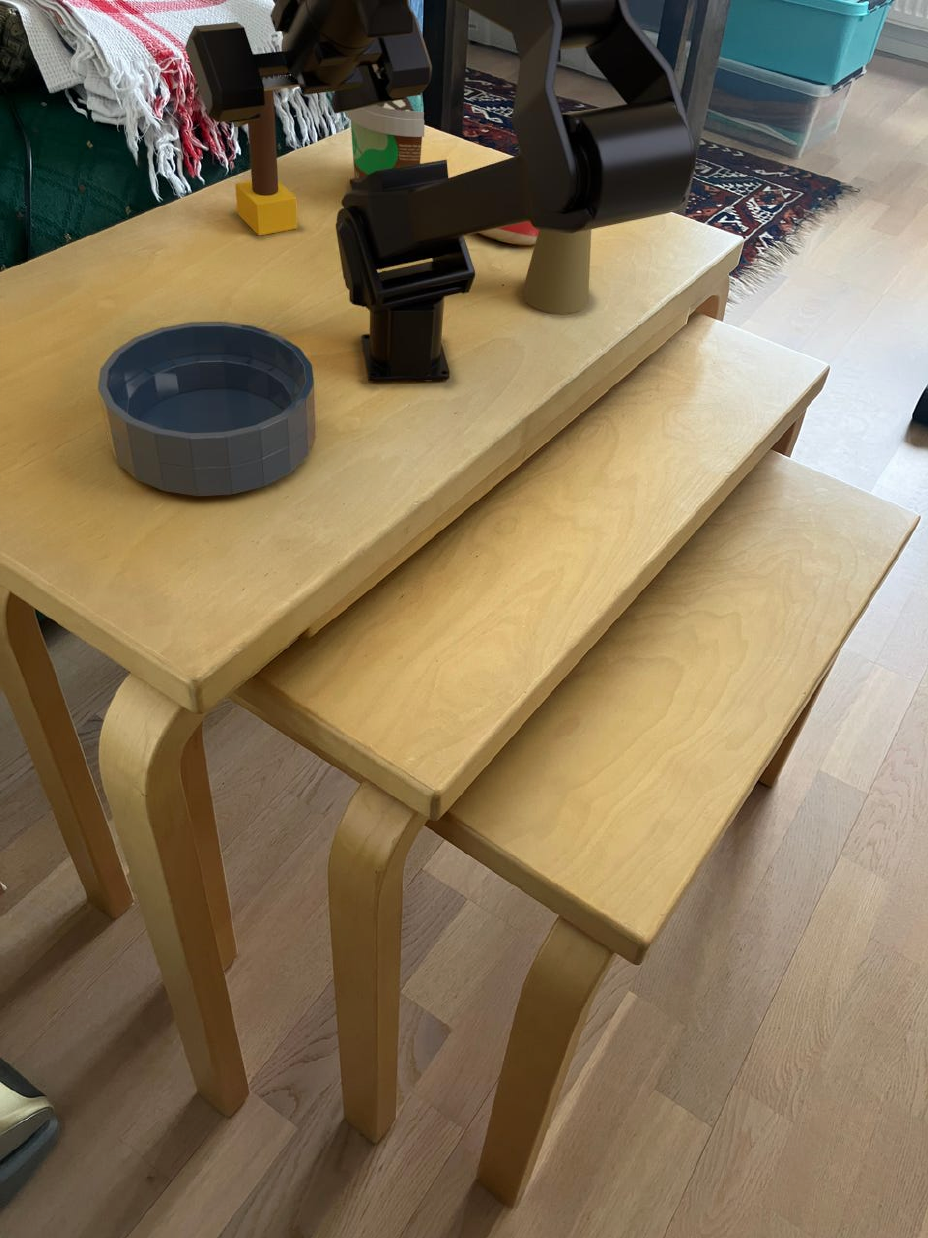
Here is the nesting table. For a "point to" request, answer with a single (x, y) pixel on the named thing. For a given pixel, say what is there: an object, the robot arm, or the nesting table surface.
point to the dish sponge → (265, 180)
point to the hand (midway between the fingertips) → (285, 113)
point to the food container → (385, 136)
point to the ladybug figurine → (514, 234)
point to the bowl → (208, 407)
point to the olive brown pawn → (559, 272)
